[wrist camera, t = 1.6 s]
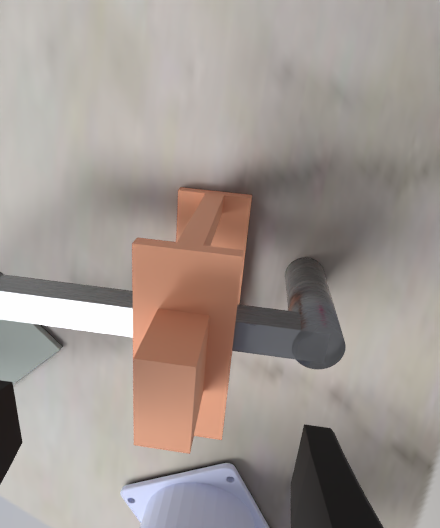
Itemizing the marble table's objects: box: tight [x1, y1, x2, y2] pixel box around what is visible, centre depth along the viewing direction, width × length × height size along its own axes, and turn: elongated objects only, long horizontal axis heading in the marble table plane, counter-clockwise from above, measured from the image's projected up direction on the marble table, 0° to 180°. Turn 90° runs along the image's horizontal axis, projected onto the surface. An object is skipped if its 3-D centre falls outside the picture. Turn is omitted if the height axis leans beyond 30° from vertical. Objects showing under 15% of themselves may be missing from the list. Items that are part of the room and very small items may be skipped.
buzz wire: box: [0, 258, 345, 369], centre depth 18 cm, size 8×24×6 cm, turn 114°
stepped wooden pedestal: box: [132, 187, 252, 454], centre depth 15 cm, size 3×7×10 cm, turn 175°
